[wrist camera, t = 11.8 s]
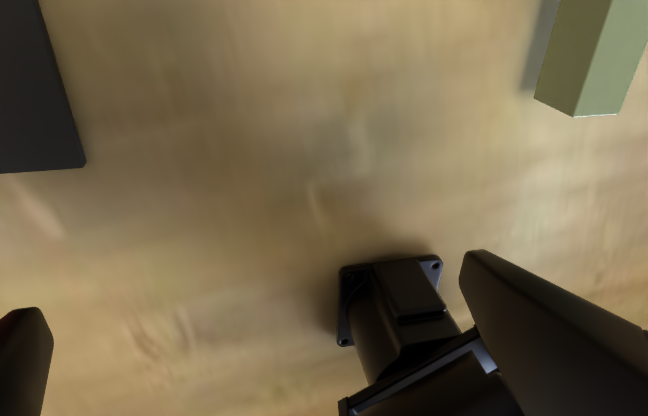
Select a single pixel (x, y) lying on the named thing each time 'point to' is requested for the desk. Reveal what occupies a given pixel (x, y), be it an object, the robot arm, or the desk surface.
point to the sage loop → (593, 56)
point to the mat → (32, 96)
